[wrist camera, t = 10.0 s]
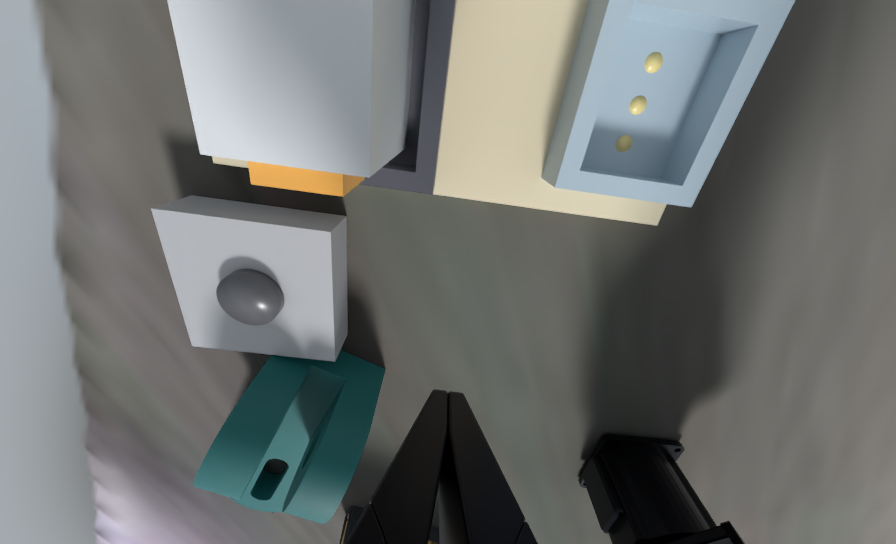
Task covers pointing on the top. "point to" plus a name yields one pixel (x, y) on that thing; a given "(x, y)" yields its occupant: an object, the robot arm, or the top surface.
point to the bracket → (295, 436)
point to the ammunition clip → (355, 515)
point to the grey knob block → (257, 276)
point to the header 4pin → (423, 101)
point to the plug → (298, 86)
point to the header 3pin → (657, 94)
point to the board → (512, 109)
